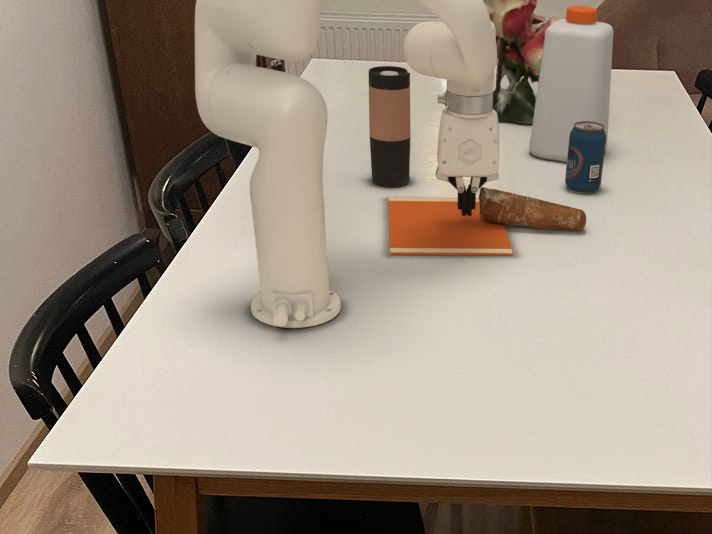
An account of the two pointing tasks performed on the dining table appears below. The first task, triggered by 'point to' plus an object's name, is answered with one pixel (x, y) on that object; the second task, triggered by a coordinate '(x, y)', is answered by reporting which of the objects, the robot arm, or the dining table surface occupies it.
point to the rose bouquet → (517, 56)
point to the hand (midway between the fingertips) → (466, 213)
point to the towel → (442, 229)
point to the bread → (528, 211)
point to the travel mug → (389, 125)
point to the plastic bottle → (571, 81)
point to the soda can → (585, 157)
